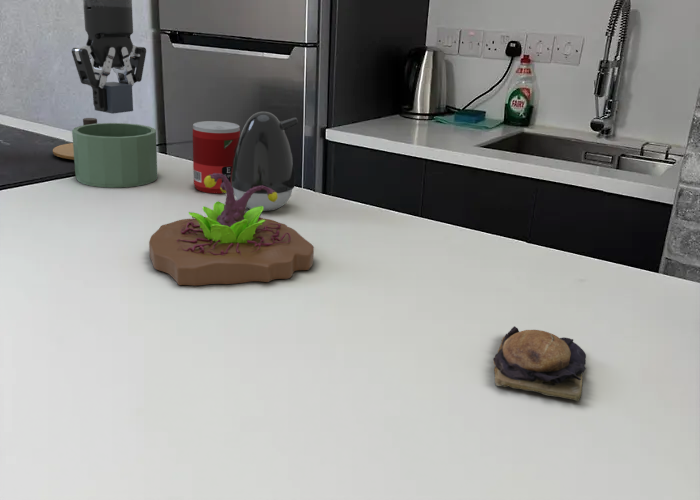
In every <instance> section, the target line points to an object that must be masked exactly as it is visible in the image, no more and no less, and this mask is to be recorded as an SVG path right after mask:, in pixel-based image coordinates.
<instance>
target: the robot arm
mask: <svg viewBox="0 0 700 500" xmlns="http://www.w3.org/2000/svg"><path fill="white" fill-rule="evenodd" d="M82 4H83V17H84V18H83V19H84V20H83V21H84V30H85V32H86V34H87V41H86V44H85V45H83V46H81V47H72V49H71V54H72V55H71V56H72V58H73V61H74V64H75V67H76V71H77V74H78V78H79V81H80V83H81V84H82V85H87V86H89V87H91V89H92V102H93V106H94V107H96V110H98V111H97V112H102V111H107V109H108V108H107V92H106V89H104V88H105V86H106V82H108V77H109V76H110V74H111V70H113V72H114V73H115V74H116V78H117V81H118V83H125V84H131V85H132V87H133V86H134V85H135V84H136V83H139V82H141V81H142V79H143V74H144V67H145V61H146V55H147V48H146V47H144V46H137V45H134V44H133V43H134V42H133V41H132V39H131V35H133V34H134V22H133V21H134V18H133V0H82ZM96 110H95V111H96Z"/></svg>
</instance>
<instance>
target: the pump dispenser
mask: <svg viewBox="0 0 700 500" xmlns="http://www.w3.org/2000/svg"><path fill="white" fill-rule="evenodd" d="M298 123H299V120H298V118H297V117H292V118H288V119H285V120H281V121H280V120H279V118H278V117H277V116H276V115H275V114H273V113H272V112H269V111H258V112H255V113H253V114H252V115H251V116H250V117H249V118H248V119H247V120H246V122H245V124H244V126H243V128H242V130H241V131H240V137H239V140H238V142H237V145H236V149H235V152H234V157H233V162H232V169H231V178H230V183H231V186H232V187H233V189H234V197H235V199H236V200H239V199H240V198H241V197H242V196H243V195H244V193H246V191H248V190H250V188H251V189H252V188H253V187H257V186H262V185H263V186H266V187H268V188H271V189H272V190H274V191H275V192H276V193H277V196H278V198H277V200H276V201H274V202H272V201H270V200H269V199H268V195H267V191H266V190H264V189H262V190H260V191H259V190H258V191H256V192H254V193H253V194H252V195H251V198H249V200H248V202H247V206H246V209H249V210H250V209H252V208H254V207H259V206H263V207H264V209H263V211H262V212H268V211H269V212H270V211H276V210H277V209H279V208H281V207H283V206H284V205H285V204H286V203H287V202H288V201H289V199H290V197H291V196H292V193H293V190H294V188H295V187H296V174H295V165H294V158H293V153H292V148H291V145H290V142H289V139H288V136H287V134H286V130H288V129H289V128H291V127H294V126H295V125H296V126H297V124H298Z"/></svg>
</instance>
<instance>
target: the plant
mask: <svg viewBox="0 0 700 500" xmlns="http://www.w3.org/2000/svg"><path fill="white" fill-rule="evenodd" d="M218 179H222V180H223V181H224V182H223V183H222V184H221V185H220V189H221V191H222V192H224V193H223V194H226V195H225V197H226V198H225V202H224V203H222V202H220V200H219V201H218V200H217V201H215V202H214V204H213V206H212V207H213V209H211V208H210V207H207V206H202V210H203V212H204V213H205V215H206V216H203V215H202V214H200V213H198V212H193V211H192V212H190V211H188V215H189V216H191V218H183V219H178V220H175V221H172V222H168V223H165V224H162V225H160V227H158V229H157V230H156V231H155V232H153V234H152V235H151V236H150V238H149V240H148V250H149V252H148V253H149V258H150V260H151V263H152V266H153V268H154V269H155V270H156V271H160V272H162V273H166V274H168V275H169V276H170V277H171V278H172V279H174V281H175V282H176V284H177V285H178V286H197V287H198V286H206V285H237V284H243V283H244V284H245V283H250V282H262V283H269V282H271V281H273V280H289V279H290V278H292V277H293V275H294V273H295V272H296V271H309V270H311V268H312V267H313V265H314V256H315V255H314V254H315V248H314V245H313V244H312V243H310V241H308V240H307V239H306V238H305V237H303V235H301V234H300V233H299V232H298V231H296V230H295V229H294V228H292V227H290V226H288V225H287V224H285V223H283V222H282V223H281V222H279V221H276V220H273V219H270V218H265V217H260V216H261V214H262V213H263V212H264V211H263V209H264V207H263V206H259V207H254V208H252V209H249V210H247V207H246V206H247V202H248V200H249V198H251V195H252V194H253V193H254V192H256V191H258V190H259V191H260V190H262V189H264V190H266V191H267V195H268V199H269V200H270V201H272V202H274V201H276V200H277V198H278V196H277V193H276V192H275V191H274V190H272V189H271V188H268V187H266V186H263V185H262V186H257V187H253V188H252V189H251V188H250V190H248V191H246V193H244V195H243V196H242V197H241V198H240V199H239V200H237V199H236V197H235V194H234V192H233V191H234V189H233V187H232V186H231V183H230V182H229V180H228V179H227V177H226V176H224V175H223V174H220V173H213V174H209V176H207V177H206V178H205V179H204V184H205V186H206V187H209V188H211V187H213V186H215V184H216V182H217V180H218Z"/></svg>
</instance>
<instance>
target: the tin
mask: <svg viewBox="0 0 700 500" xmlns="http://www.w3.org/2000/svg"><path fill="white" fill-rule="evenodd" d="M71 134H72V136H71V137H72V143H73V149H74V160H73V163H74V174H75V175H74V176H75V178H76V181H77V182H79V183H80V184H82V185H86V186H90V187H97V188H110V189H111V188H112V189H113V188H114V189H115V188H134V187H139V186H144V185H149V184H151V183H153V182H155V181H156V180H157V179H158V151H157V150H158V149H157V129H156V128H154V127H152V126H149V125H144V124H138V123H126V122H100V123H98V122H97V124H89V125H83V124H82V125H78V126H75V127H73V129H72V130H71Z"/></svg>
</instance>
